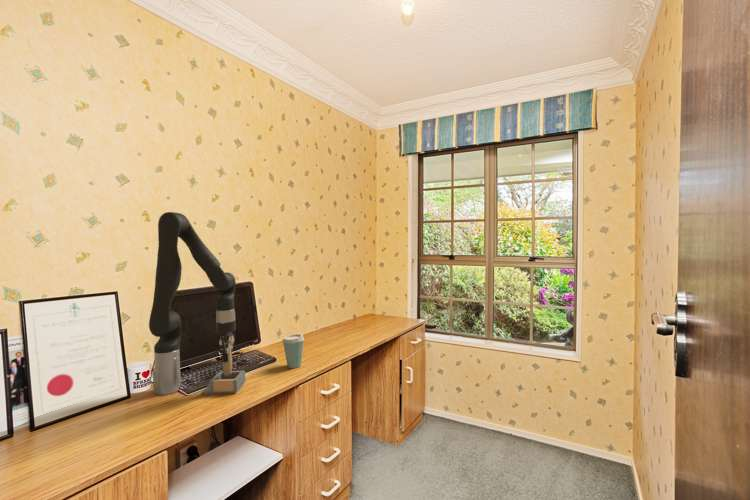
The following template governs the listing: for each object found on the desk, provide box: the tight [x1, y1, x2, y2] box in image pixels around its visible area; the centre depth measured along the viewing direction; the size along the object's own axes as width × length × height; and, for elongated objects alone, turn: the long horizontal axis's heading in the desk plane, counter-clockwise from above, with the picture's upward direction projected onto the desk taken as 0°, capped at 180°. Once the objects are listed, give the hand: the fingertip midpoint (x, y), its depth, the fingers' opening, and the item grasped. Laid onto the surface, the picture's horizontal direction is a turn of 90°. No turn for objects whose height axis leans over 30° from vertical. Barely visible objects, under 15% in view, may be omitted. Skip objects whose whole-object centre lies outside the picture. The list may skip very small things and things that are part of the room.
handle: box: [218, 338, 235, 376], centre depth 156 cm, size 5×6×15 cm
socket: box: [201, 370, 246, 395], centre depth 156 cm, size 14×11×6 cm
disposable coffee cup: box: [282, 333, 305, 369], centre depth 183 cm, size 11×11×15 cm
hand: (227, 360), depth 156 cm, fingers closed on handle, 4 cm apart
